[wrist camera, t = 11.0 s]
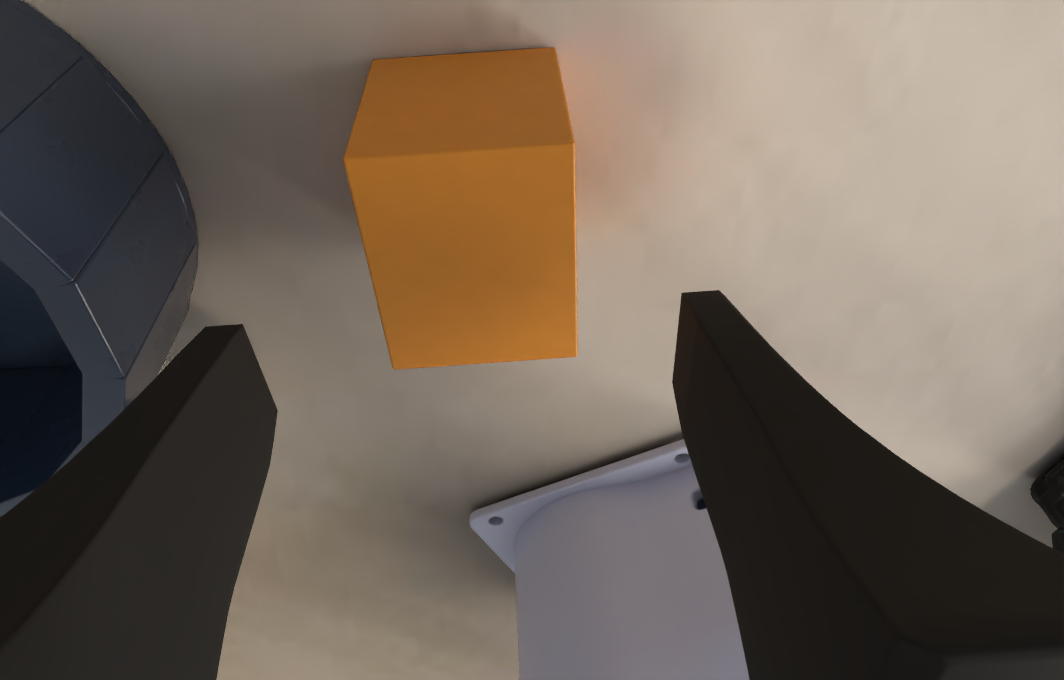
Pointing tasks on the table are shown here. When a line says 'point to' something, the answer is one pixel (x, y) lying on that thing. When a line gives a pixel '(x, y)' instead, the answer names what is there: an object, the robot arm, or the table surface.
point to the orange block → (468, 206)
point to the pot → (79, 250)
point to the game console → (1052, 501)
